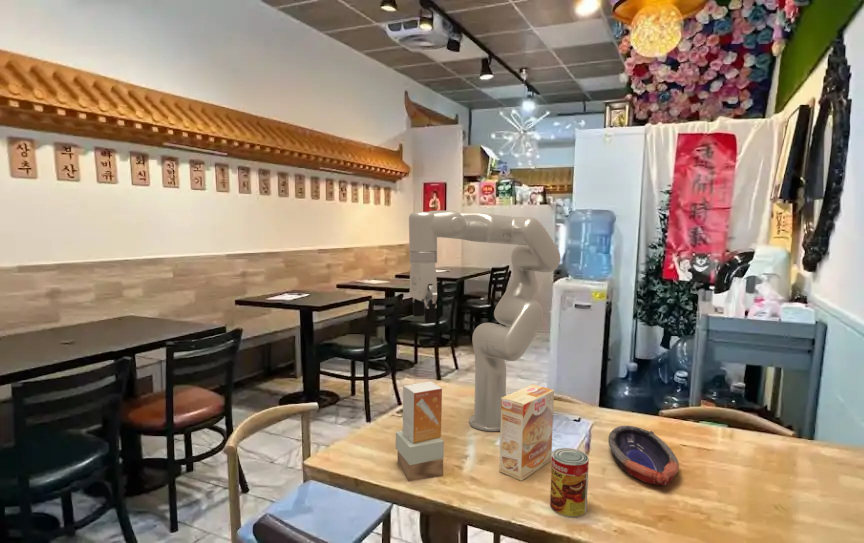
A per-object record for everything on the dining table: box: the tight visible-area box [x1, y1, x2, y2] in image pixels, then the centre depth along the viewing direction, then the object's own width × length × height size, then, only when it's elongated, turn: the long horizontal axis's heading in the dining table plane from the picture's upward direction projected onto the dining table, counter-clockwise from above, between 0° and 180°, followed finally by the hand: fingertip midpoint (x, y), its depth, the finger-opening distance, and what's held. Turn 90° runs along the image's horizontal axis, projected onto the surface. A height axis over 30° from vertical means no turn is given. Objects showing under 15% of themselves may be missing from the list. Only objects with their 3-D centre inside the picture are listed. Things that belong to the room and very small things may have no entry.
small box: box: [402, 381, 443, 443], centre depth 131 cm, size 8×6×13 cm
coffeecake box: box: [498, 383, 555, 481], centre depth 134 cm, size 15×7×20 cm, turn 137°
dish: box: [608, 425, 680, 487], centre depth 137 cm, size 16×31×5 cm, turn 172°
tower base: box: [396, 449, 444, 482], centre depth 133 cm, size 9×10×4 cm
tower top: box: [395, 429, 445, 465], centre depth 132 cm, size 9×10×4 cm
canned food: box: [549, 447, 590, 518], centre depth 115 cm, size 8×8×12 cm
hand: (424, 319), depth 144 cm, fingers open, 9 cm apart
